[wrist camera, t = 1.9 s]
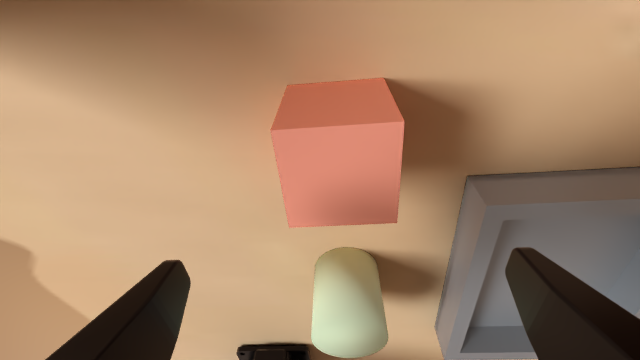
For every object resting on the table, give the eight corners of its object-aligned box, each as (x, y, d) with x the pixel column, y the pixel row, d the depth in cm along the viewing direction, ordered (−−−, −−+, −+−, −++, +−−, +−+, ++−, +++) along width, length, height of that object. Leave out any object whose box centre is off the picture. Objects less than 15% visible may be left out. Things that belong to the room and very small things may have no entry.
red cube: (380, 160, 17) (397, 222, 13) (299, 165, 17) (289, 227, 13) (383, 77, 14) (404, 121, 10) (287, 84, 15) (270, 130, 11)
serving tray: (588, 324, 25) (613, 358, 22) (434, 327, 26) (444, 359, 23) (703, 163, 16) (759, 193, 14) (467, 176, 17) (486, 205, 15)
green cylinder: (376, 287, 23) (386, 357, 19) (317, 289, 23) (315, 358, 19) (378, 246, 20) (389, 315, 16) (311, 248, 21) (307, 317, 17)
